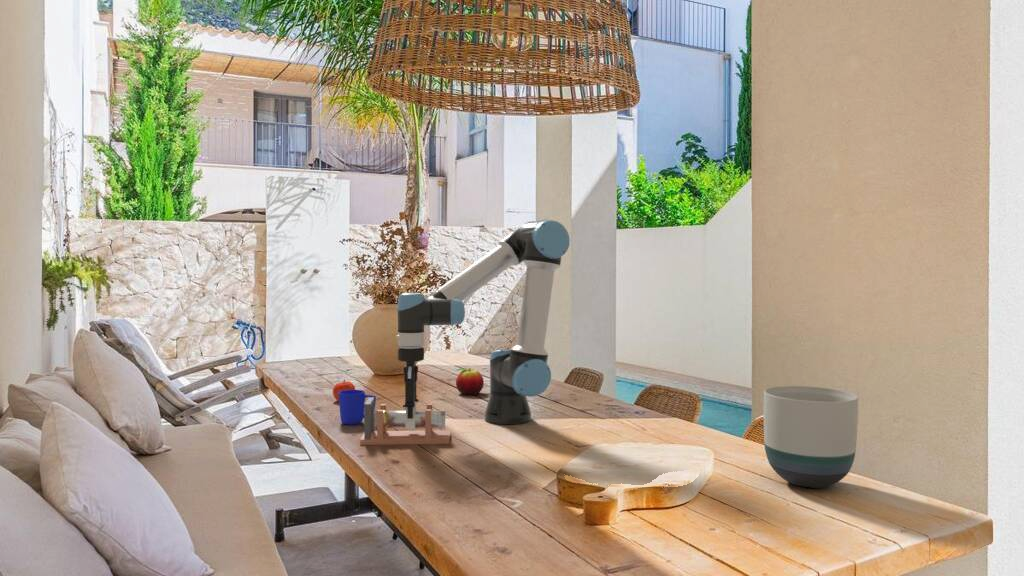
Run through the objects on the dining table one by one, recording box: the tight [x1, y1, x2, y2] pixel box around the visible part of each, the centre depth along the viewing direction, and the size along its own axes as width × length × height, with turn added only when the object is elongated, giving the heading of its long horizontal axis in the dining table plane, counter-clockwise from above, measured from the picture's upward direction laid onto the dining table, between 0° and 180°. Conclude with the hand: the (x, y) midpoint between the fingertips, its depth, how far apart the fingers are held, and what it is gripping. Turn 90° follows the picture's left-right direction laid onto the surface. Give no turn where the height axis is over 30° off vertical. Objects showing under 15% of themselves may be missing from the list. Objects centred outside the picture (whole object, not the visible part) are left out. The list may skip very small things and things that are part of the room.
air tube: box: [374, 409, 446, 430], centre depth 212 cm, size 20×5×5 cm, turn 94°
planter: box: [763, 385, 859, 489], centre depth 172 cm, size 20×20×21 cm
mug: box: [338, 389, 377, 426], centre depth 233 cm, size 8×12×10 cm
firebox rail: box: [359, 397, 451, 446], centre depth 212 cm, size 25×10×12 cm, turn 94°
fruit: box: [455, 367, 485, 396], centre depth 285 cm, size 11×11×10 cm
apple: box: [332, 379, 356, 402], centre depth 269 cm, size 8×8×8 cm
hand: (411, 426), depth 213 cm, fingers closed on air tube, 5 cm apart
